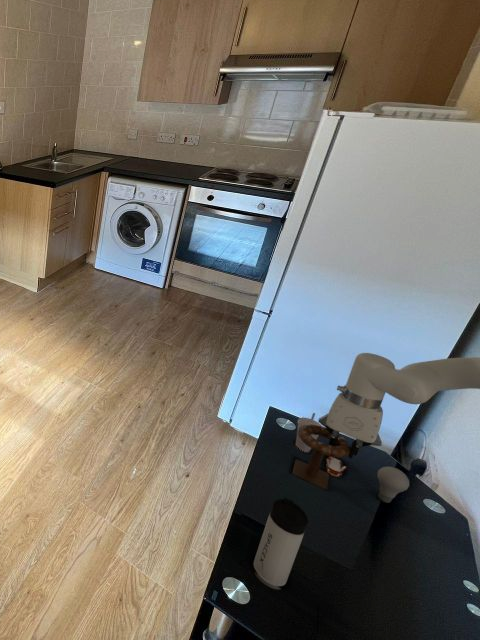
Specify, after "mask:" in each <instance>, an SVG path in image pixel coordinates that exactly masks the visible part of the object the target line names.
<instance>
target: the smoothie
mask: <svg viewBox="0 0 480 640" xmlns="http://www.w3.org/2000/svg"><path fill="white" fill-rule="evenodd" d="M315 416H316V413H315V412H312V415H311V417H310V418H309V417H304V416H303V417H298V419H297V430H296V437H295V445H296V446H297V447H298V448H299V449H300V450H299V449H298V448H297V447H296V446H295V447H296V448H297V449H298V450H299V451H301V450H302V451H301V452H303V451H304V453H310V452H311V450H312V448H310V447H309V446H308V445H306V444H305V443H304V442H303V441H302V440H301V438H300V437H299V436H298V430H299V427H300V426H302V425H306V424H312V425H318V426H322V427H323V425H322V424H320V423H319V422H318V421H317V420H315V419H314V418H315ZM311 436H312V437H313V438H314V439H316V440H317V441H318V438H319V437H320V436H319V435H314V434H311Z"/></svg>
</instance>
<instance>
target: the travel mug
mask: <svg viewBox="0 0 480 640" xmlns="http://www.w3.org/2000/svg"><path fill="white" fill-rule="evenodd" d="M308 524H309V518H308V515H307V514H306V512H305V511H304V510H303V509H302V508H301V506H299V505H297V504H296V503H295V502H294V500H292V499H289V498H287V497H283V498H278V499H276V500H274V501H273V502H272V505H271V510H270V511H269V514H268V517H267V520H266V524H265V526H264V530H263V532H262V535H261V537H260V538H261V539H260V541H259V545H258V548H257V551H256V552H255V553H256V554H255V557H254V560H253V569H254V570H255V571H253V573H254V575H255V577H256V578H257V580H259V581H260V582H261V583H262V584H263V585H265V586H266V587H268V588H270V589H273V590H279V591H280V590H282V588H281V587H283V586H285V585H286V584H287V582H288V579H289V576H290V573H291V571H292V567H293V565H294V562H295V559H296V557H297V554H298V552H299V549H300V546H301V544H302V540H303V538H304V535H305V533H306V528H307V526H308Z"/></svg>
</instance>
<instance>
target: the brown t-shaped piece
mask: <svg viewBox="0 0 480 640" xmlns="http://www.w3.org/2000/svg"><path fill="white" fill-rule="evenodd" d="M324 456H325V455H324V454H322V453H320V452H317V451H315V450H313V449H312V453H311V455H310V458H309V461H308V463H306V462H304V461H302V460H299V459H295V461H294V463H293V469H292V472H291V473H292V474H291V475H292V476H294V477H296V478H298V479H300V480H302V481H304V482H307V483H309V484H311V485H313V486H316V487H318V488H320V489H322V490H324V491H328V486H329V479H330V474H329V473H328V472H327V471H326V472H325V471H324V470H322V469H320V466H321V463H322V460H323V458H324Z"/></svg>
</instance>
